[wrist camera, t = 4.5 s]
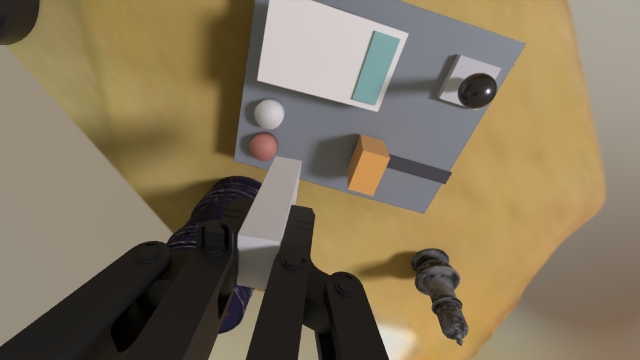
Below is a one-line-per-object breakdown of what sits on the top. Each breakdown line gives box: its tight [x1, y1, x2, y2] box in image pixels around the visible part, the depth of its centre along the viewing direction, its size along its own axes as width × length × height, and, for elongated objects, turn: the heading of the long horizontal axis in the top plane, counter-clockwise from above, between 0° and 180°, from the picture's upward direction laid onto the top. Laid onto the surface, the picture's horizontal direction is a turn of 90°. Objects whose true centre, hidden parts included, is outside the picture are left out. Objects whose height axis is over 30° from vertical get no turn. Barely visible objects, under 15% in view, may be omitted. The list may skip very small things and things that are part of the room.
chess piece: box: [411, 249, 468, 346], centre depth 34 cm, size 6×6×12 cm
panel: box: [234, 0, 526, 214], centre depth 27 cm, size 22×18×6 cm
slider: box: [347, 134, 390, 196], centre depth 25 cm, size 2×4×4 cm, turn 164°
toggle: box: [458, 73, 497, 109], centre depth 19 cm, size 2×2×7 cm
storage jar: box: [166, 176, 262, 334], centre depth 31 cm, size 10×10×15 cm
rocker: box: [257, 0, 409, 112], centre depth 21 cm, size 10×6×2 cm, turn 74°
